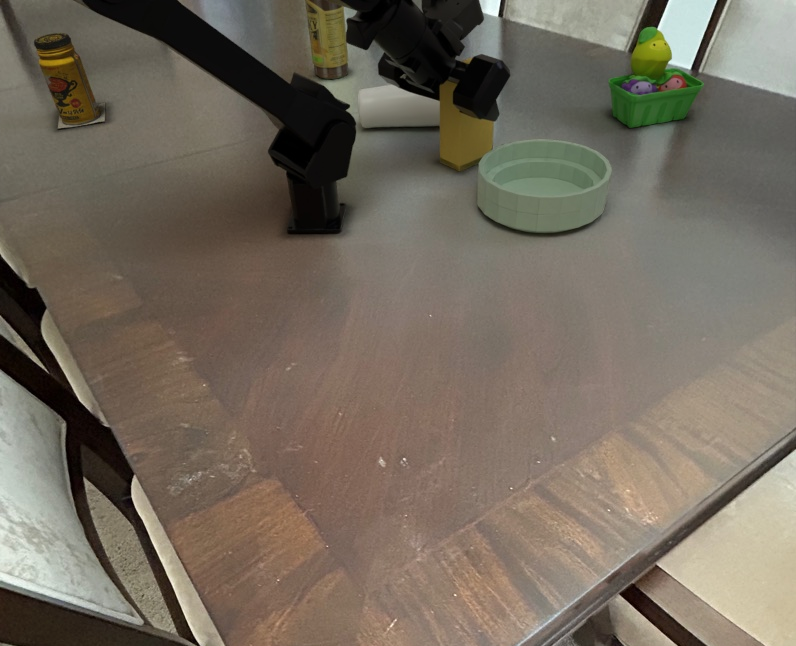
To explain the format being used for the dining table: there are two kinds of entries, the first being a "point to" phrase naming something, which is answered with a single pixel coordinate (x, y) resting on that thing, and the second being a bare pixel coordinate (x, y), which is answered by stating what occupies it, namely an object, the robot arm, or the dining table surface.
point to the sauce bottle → (327, 38)
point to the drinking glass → (396, 108)
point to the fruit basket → (652, 85)
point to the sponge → (461, 132)
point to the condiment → (67, 81)
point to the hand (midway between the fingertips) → (473, 108)
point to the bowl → (543, 185)
